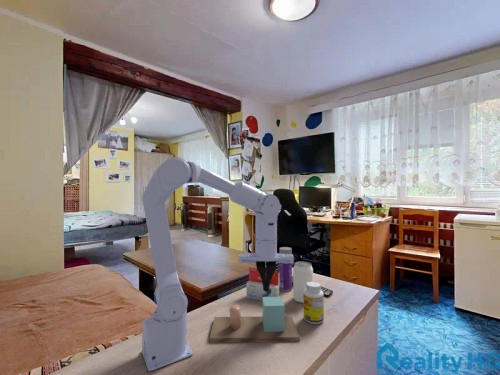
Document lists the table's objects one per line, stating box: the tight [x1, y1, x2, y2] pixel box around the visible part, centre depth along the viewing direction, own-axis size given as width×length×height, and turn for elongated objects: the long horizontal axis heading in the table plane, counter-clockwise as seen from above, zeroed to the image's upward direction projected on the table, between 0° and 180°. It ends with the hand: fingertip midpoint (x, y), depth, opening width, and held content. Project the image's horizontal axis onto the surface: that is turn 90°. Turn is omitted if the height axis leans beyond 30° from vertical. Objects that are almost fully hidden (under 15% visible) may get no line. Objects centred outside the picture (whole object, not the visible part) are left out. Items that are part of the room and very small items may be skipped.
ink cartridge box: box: [245, 267, 280, 301], centre depth 85 cm, size 2×11×10 cm, turn 67°
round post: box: [229, 304, 242, 330], centre depth 66 cm, size 3×3×5 cm
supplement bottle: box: [303, 281, 325, 325], centre depth 71 cm, size 6×6×10 cm
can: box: [292, 260, 314, 304], centre depth 84 cm, size 6×6×12 cm
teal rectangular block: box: [261, 296, 285, 332], centre depth 66 cm, size 5×5×7 cm
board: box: [209, 315, 301, 343], centre depth 66 cm, size 22×10×1 cm, turn 91°
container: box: [278, 246, 293, 292], centre depth 93 cm, size 5×5×15 cm
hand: (265, 289), depth 67 cm, fingers closed
